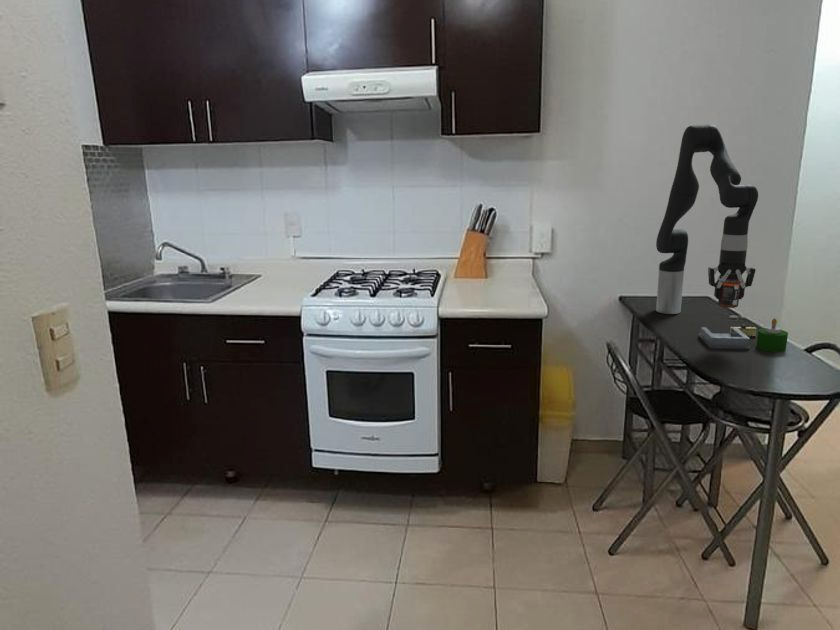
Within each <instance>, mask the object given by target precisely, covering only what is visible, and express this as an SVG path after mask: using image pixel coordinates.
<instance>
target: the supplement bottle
mask: <svg viewBox="0 0 840 630" xmlns="http://www.w3.org/2000/svg"><path fill="white" fill-rule="evenodd" d="M720 288H721V295H720V299H717V302H718V303H717V304H718V306H719V307H721V308H724V309H725V308H727V309H735V308H737V307H739V301H740V299H739V293H740V281H739V280H738V278H737V274H736V273H730V274H729V275H728V277H727V279H726V280H725V282H723V284H722V285H721V287H720Z"/></svg>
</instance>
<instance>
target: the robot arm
mask: <svg viewBox="0 0 840 630" xmlns="http://www.w3.org/2000/svg"><path fill="white" fill-rule="evenodd" d="M682 134H683V135H682V138H681V142H680V149H679V155H678V161H677V166H676V170H675V175H674V178H673V182H672V185H671V188H670V192H669V196H668V202H667V206H666V209H665V213H664V217H663V220H662V222H661V225H660V228H659V230H658V234H657V236H656V242H655V243H656V244H655V246H656V250H657V252H658V253H660V254H672V255H671V257H669V258H668V259H665V260H662V261H660V263H659V265H658V279H657V280H658V281H657V293H656V295H657V296H656V307H655V311H656V312H657V313H660V314H665V315H677V314H680V313H681V311H682V310H681V309H682V301H683V290H684V289H683V288H684V287H683V285H684V275H685V274H684V273H685V266H686V261H687V253H688V246H689V234H688V232H687V231H686V230H685V229H674V228H675V226H676V225H677V223H678V222H679V221H680V220H681V219H682V218H683V217H684V216H685V215H686V214H687V213H688V212H689V211H690V210H691V209H692V207H694V205H695V202H696V199H697V196H698V193H699V189H700V185H699V180H698V178H697V176H696V173H695V171H694V168H693V157H694V154H695V153H707V152H709V153H710V154H711V155H712V156H713V157H712V160H711V163H710V167H709V172H710V175H711V178H712V179H713V181H714V182H715V184H716V185H717V189H718V193H719V202H720V203H721V204H722V206H724V207H725V208H729V209H732V208H733V209H735V208H738V209H737V212H735V213H733V214H731V215H727V216H725V218H724V221H723V230H722V237H721V243H720V251H719V253H720V254H719V262H718V266H717V267H716V266H715V267H708V268H707V272H708V284H709V285H710V286H711V287H714V293H713V295H714V298H715V299H717V300H719V299H720V295H721V288H720V287H721V285H722V284H723V282H725V280H726V279H727V277H728V275H729V274H730V273H736V274H737V278H738V280H739V281H740V293H739V300H743V298H744V297H745V290H746V288H747V287H751V286H752V285H753V281H754V278H755V274H756V268H754V267H752V266H751V267H747V266H746V261H747V252H748V247H749V246H748V245H749V244H748V243H749V242H748V241H749V240H748V236H749V235H748V234H749V233H748V232H749V224H750V220H751V218H752V215H753V212H754V210H755V208H756V205H757V203H758V200H759V192H758V189H757V187H756V186H755V185H754V184H741V182H742V176H741V174H740V172H739V171H738V169H737V168H736V167H735V165H734V164H733V162H732V160H731V158H730V156H729V154H728V150H727V148H726V144H725V142H724V139H723V137H722V134H721V132H720V130H719V128H718V127H717V126H716V125H714V124H693V125H689V126H687V127H686V128H685V129H684V132H683V133H682ZM717 271H718V273H719V276H718V277H717V280H716V279H715V275H716V274H717ZM744 273H746V274H747V275H746V277H745V278H746V279H745V281H744V279H743V274H744ZM715 280H716V281H715Z"/></svg>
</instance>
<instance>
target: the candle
mask: <svg viewBox="0 0 840 630" xmlns="http://www.w3.org/2000/svg"><path fill="white" fill-rule="evenodd" d="M777 323H778V320H777V319H776V318H775V317H774V318H773V319H772V320H771V325H768V326H765V328H759V329H758V330H757V331H758V332H757V340H756V349H758V350H761V351H765V352H773V353H780V352H781V353H782V352H785V351H786V350H787V344H788V336H789V332H787V331H786V330H783V329H782V327H779V326H777Z"/></svg>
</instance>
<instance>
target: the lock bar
mask: <svg viewBox="0 0 840 630" xmlns="http://www.w3.org/2000/svg"><path fill="white" fill-rule="evenodd" d="M729 327H730V328H729V334H732V328H738V329H739V330H740V331H742V332H743V333H744V334H745V335H746V336H748V337H749V338H751V336H755V337H756V336H757V331H758V330H757V327H755V326H753V327H752V326H747V325H746V324H745V323H744V324H743V323H742V324H740V326H729ZM755 337H754V338H755Z"/></svg>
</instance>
